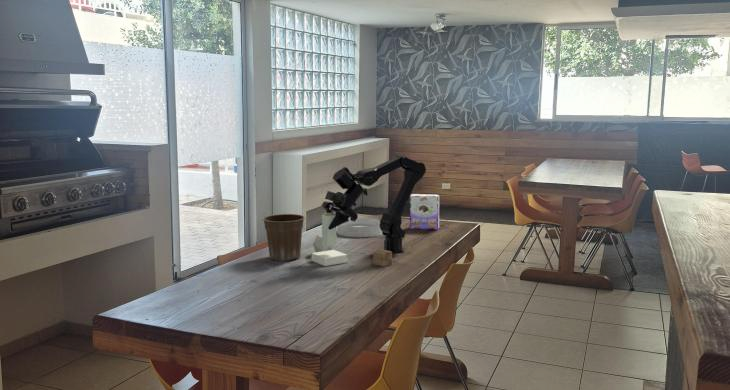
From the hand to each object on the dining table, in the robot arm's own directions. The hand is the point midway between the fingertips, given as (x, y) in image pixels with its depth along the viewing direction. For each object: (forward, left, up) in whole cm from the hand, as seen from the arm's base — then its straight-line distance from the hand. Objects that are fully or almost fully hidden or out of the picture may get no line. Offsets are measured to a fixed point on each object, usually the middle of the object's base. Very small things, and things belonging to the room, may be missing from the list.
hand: (326, 228), depth 248 cm
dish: (-34, -46, -14) cm, 59 cm away
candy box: (-66, -42, -14) cm, 80 cm away
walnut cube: (-18, +12, -13) cm, 26 cm away
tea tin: (-1, 0, -7) cm, 7 cm away
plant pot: (+13, -13, -13) cm, 23 cm away
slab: (-1, 0, -13) cm, 13 cm away
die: (-3, -12, -14) cm, 19 cm away
